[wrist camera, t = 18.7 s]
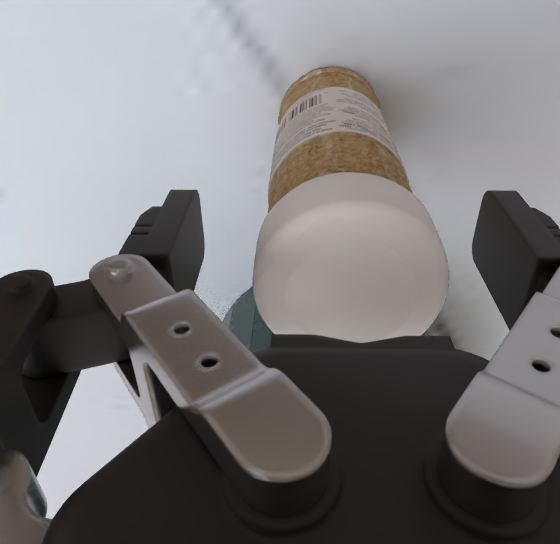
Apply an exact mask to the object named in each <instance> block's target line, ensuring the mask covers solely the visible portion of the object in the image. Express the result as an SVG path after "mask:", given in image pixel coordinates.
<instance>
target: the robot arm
mask: <svg viewBox="0 0 560 544" xmlns="http://www.w3.org/2000/svg"><path fill="white" fill-rule="evenodd" d="M204 246H205V245H204V232H203V224H202V215H201V207H200V198H199V194H198V191H197V190H170V192H169V194H168V196H167V198H166V200H165V202H164V204H163V206H162V207H151V208H150V209H148V210H147V211H146V212H144V213H143V214H141V215H140V217H139V219H138V220H137V222H136V224H135V227H134V228H133V229H132V231H131V235H129V236H128V238H127V240H126V242H125V243H124V245H123V247H122V249H121V250H120V252H119V254H118V255H115V256H112V257H108V258H106V259H104V260H101V261H100V262H98V263H97V264H95V265H94V266H93V267H92V268H91V270H90V272H89V278H90V279H88V280H85V281H80V282H75V283H69V284H64V285H58V286H54V283H53V280H52V277H51V275H50V274H48V273H47V272H45V271H41V270H23V271H18V272H14V273H11V274H8V275H6V276H4V277H2V278H0V544H560V229H559V227H558V225H557V224H556V223H555V222H554V221H553V220H552V218H551V217H550V216H548V215H546V214H544V213H543V212H541V211H539V210H537V209H536V208H530V207H529V205H528V204H527V203H526V202H525V201H524V199H523V198H522V197H521V196H520V194H519V193H518V192H517V191H486V192H485V194H484V196H483V199H482V202H481V207H480V211H479V215H478V220H477V224H476V229H475V233H474V237H473V242H472V255H473V260H474V262H475V264H476V266H477V268H478V270H479V272H480V274H481V276H482V278H483V280H484V282H485V284H486V286H487V288H488V289H489V291H490V293H491V295H492V297H493V299H494V301H495V303H496V305H497V307H498V309H499V311H500V313H501V314H502V316H503V318H504V320H505V322H506V324H507V326H508V328H509V330H510V332H509V333H508V335H507V336H506V338H505V339H504V341H503V342H502V344H501V345H500V347H499V348H498V350H497V351H496V353H495V354H494V356H493V357H492V359H491V360H490V361H489V360H487V359H484V358H482V357H480V356H477V355H474V354H471V353H468V352H464V351H461V350H456V349H454V346H453V343H452V340H451V338H450V336H401V337H395V338H389V339H383V340H378V341H372V342H366V343H357V342H352V341H346V340H341V339H336V338H330V337H325V336H320V335H309V334H271V346H270V347H265V348H261V349H257V350H254V351H250V350H249V349H248V348H247V347H246V346H245V345H244V344H243V343H242V342H241V341H240V340H239V339H238V338H237V337H236V336H235V335H234V334H233V333H232V331H231V330H230V329H229V328H228V327H227V326H226V325H225V324H224V323H223V322H222V321H221V320H220V319H219V318H218V317H217V316H216V315H215V314H214V313H213V312H212V311H211V310H210V309H209V308H208V306H207V305H206V304H205V303H204V302H203V301H202V300H201V299H200V298H199V297H198V296H197V295H196V294H195V293H194V289H195V285H196V282H197V279H198V275H199V272H200V269H201V265H202V262H203V258H204ZM109 363H113V364H114V367H115V369H116V370H117V372H118V374H119V375H120V377H121V378H122V380H123V382H124V383H125V385H126V387H127V388H128V390H129V392H130V393H131V395H132V397H133V398H134V400H135V402H136V403H137V405H138V406H139V408H140V410H141V412H142V414H143V416H144V418H145V420H146V423H147V425H148V428H149V429H148V430H147V431H146V432H145V433H143V434H142V435H141V436H140V437H139V438H137V439H136V440H135V441H134V442H133V443H131V444H130V445H129V446H128V447H126V448H125V449H124V450H123V451H122V452H120V453H119V454H118V455H117V456H116V457H114V458H113V459H112V460H111V461H110V462H108V463H107V464H106V465H105V466H104V467H102V468H101V469H100V470H99V471H98V472H96V473H95V474H94V475H93V476H92V477H90V478H89V479H88V480H87V481H86V482H84V483H83V484H82V485H81V486H80V487H79V488H78V489H77V490H76V491H74V492H73V493H72V494H71V495H70V497H69V498H68V499H67V500H66V501H65V502H64V504H63V505H62V506H61V508H60V509H59V511H58V512H57V513H56V515H55V516H54V518H53V519H48V518H45V517H46V512H47V500H46V497H45V495H44V493H43V491H42V489H41V487H40V485H39V483H38V480H37V478H36V477H37V475H38V472H39V470H40V468H41V465H42V463H43V461H44V458H45V456H46V453H47V451H48V449H49V446H50V444H51V441H52V439H53V437H54V434H55V432H56V429H57V427H58V425H59V422H60V420H61V418H62V415H63V413H64V410H65V408H66V406H67V403H68V401H69V398H70V396H71V394H72V391H73V389H74V387H75V384H76V382H77V379H78V377H79V375H80V372H81V370H82V369H87V368H91V367H96V366H100V365H105V364H109Z"/></svg>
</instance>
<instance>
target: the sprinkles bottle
mask: <svg viewBox="0 0 560 544" xmlns="http://www.w3.org/2000/svg"><path fill="white" fill-rule="evenodd" d="M278 124H279V127H278V131H277V135H276V141H275V147H274V154H273V160H272V167H271V175H270V181H269V189H268V204H269V208H268V215H267V216H266V218H265V220H264V222H263V224H262V227H261V229H260V233H259V237H258V241H257V246H256V254H255V261H254V271H253V292H254V298H255V302H256V305H257V308H258V311H259V313H260V315H261V316H262V318H263V320H264V321H265V323H266V324H267V326H268V327H269V328H270V330H271V331H272V332H273V333H274V334H309V335H320V336H325V337H330V338H336V339H341V340H346V341H352V342H357V343H366V342H372V341H378V340H383V339H389V338H395V337H401V336H421V335H422V334H423V333H424V332H425V331H426V330H427V329H428V328H429V327H430V326H431V324H432V323H433V322H434V320H435V319H436V318H437V316H438V314H439V312H440V311H441V309H442V307H443V305H444V302H445V300H446V296H447V292H448V287H449V266H448V261H447V256H446V254H445V251H444V248H443V245H442V242H441V240H440V237H439V235H438V232H437V230H436V228H435V225H434V223H433V221H432V219H431V217H430V215H429V213H428V211H427V210H426V208H425V206H424V205H423V204H422V203H421V202H420V200H419V199H418V198H417V197H416V196H415V195H413V193H412V190H411V188H410V186H409V180H408V177H407V173H406V171H405V169H404V166H403V164H402V161H401V159H400V156H399V154H398V152H397V149H396V147H395V144H394V142H393V139H392V137H391V134H390V132H389V129H388V127H387V125H386V122H385V120H384V117H383V115H382V114H381V112H380V108H379V102H378V99H377V97H376V96H375V94H374V92H373V89H372V88H371V86H370V85H369V84H368V83H367V82H366V80H365V79H363V78H362V77H360V76H359V75H358V74H356V73H355V72H353V71H350V70H346V69H343V68H338V67H326V68H319V69H316V70H313V71H310V72H309V73H307V74H306V75H304V76H302V77H300V78H299V79H298V81H297V82H295V83H294V84H292V86H291V87H290V88H289V89H288V91H287V93H286V95H285V97H284V99H283V101H282V103H281V107H280V113H279V117H278Z"/></svg>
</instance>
